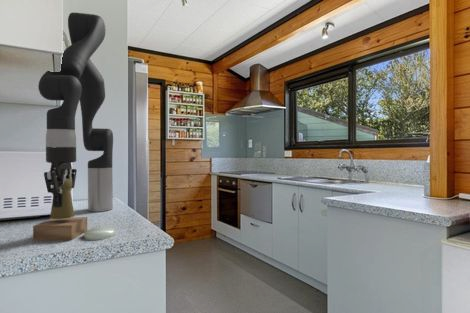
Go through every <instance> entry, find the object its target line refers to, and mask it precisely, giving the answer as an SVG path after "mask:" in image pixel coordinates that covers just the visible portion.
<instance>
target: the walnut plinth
mask: <svg viewBox="0 0 470 313" xmlns="http://www.w3.org/2000/svg"><path fill="white" fill-rule="evenodd" d="M86 230H88V217H87V216H86V217H85V216H84V217H83V216H82V217H75V216H73V217H70V218H65V219H51V218H49V219H46V220H44V221H42V222H39V223H36V224H35V225H32V240H33V241H34V242H37V241H39V242H40V241H42V242H43V241H46V242H47V241H49V242H50V241H73V240H74V239H76V238H78V237H79V236H81V235H82V234H84V232H85V231H86ZM33 241H32V242H33Z"/></svg>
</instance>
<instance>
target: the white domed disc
mask: <svg viewBox="0 0 470 313" xmlns="http://www.w3.org/2000/svg"><path fill="white" fill-rule="evenodd" d="M114 236H116V228H114V227H109V226H99V227H93V228H88V229H87V230H86V231H85V232H84V233H83V237H84V239H85V240H89V241H101V240H106V239H110V238H113V237H114Z"/></svg>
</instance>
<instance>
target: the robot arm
mask: <svg viewBox="0 0 470 313" xmlns="http://www.w3.org/2000/svg"><path fill="white" fill-rule="evenodd" d="M67 18H68V19H67V27H68V28H67V29H68V34H69V39H70V44H71V45H69V46H68V47H66V48H65V49H64V50H63V51H64V53H63V52H62V53H63V57H62V64H61V71H60V72H50V71H48V70H47V71H45V73H43V74H42V75H41V77H40V79H39V80H38V85H37V86H38V92H39V94H40V95H41V97H42V98H44V99H45V100H48V101H62V103H61V105H60V106H58V107H54V108H50V109H48V110H47V111H46V133H45V162H46V163H49V164H51V165H50V168H49V169H50V170H49V171H44V172H43V176H44V181H45V185H46V190H47V193H51V194H52V201H53V207H61V206H62V191H63V189H62V186H63V185H64V184H65V181H66V179H70V180H71V181H72V188H71V189H70V191H72V189H75V184H76V178H77V168H73V167H72V163H75V162H77V136H76V114H77V110H78V107H79V106H78V105H80V112H81V125H82V126H81V127H82V142H83V146H84V149H85V150H86V151H89V152H103V153H102V154H101V155H100V156H98V157H96V158H93V159H91V160H89V161H88V162H87V210H88V212H95V213H96V212H107V211H111V210H113V207H114V206H113V204H114V203H113V201H114V200H113V194H114V193H113V149H114V148H113V147H114V135H113V134H114V133H113V131H112V129H111V128H99V127H98V128H94V127H93V122H94V119H95V117H96V114H97V112H98V111H99V110H100V108H101V106H102V105H103V103H104V101H105V99H106V88H105V79H104V78H103V77H104V76H103V75H102V74H101V72H100V71H99V69H98V68H97V67H96V65H95V63H93V62H92V59H91V57H92V56H93V54H95V52H96V51H97V50H98V49H99V47H100V46H101V45H102V43H103V42H104V39H105V38H106V24H105V21H104V19H103V17H101V16H100V15H98V14H91V13H83V12H70V13H69V14H68V17H67ZM57 181H61V182H57ZM58 185H59V187H58Z"/></svg>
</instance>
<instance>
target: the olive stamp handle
mask: <svg viewBox="0 0 470 313" xmlns="http://www.w3.org/2000/svg"><path fill="white" fill-rule="evenodd" d="M57 182H61V181H57ZM58 187H59V185H58ZM71 188H72V181H71V180H70V179H66V181H65V184H64V185H63V186H62V189H63V191H62V206H61V207H53V200H52V202H51V208H50V209H51V210H50V217H49V219H65V218H70V217H75V211H74V205H73V198H72V194H71V193H72V192H71V191H72V189H73V188H72V189H71ZM70 189H71V191H70Z"/></svg>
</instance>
